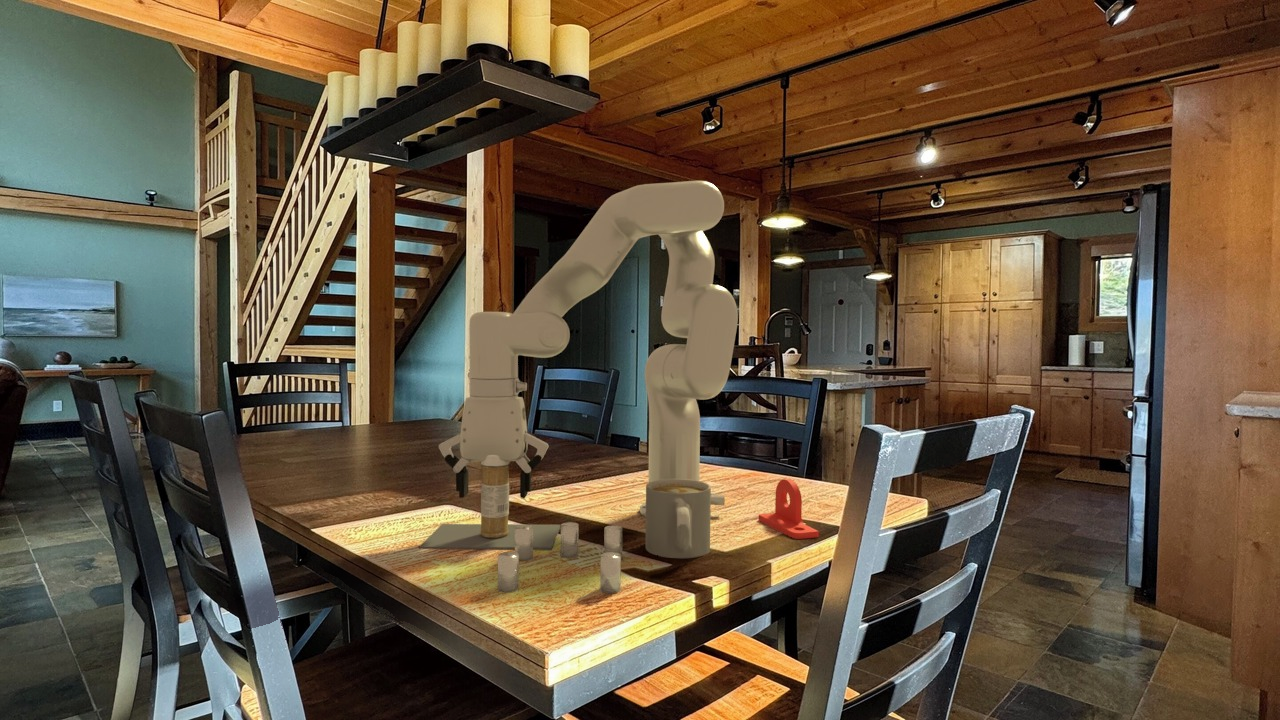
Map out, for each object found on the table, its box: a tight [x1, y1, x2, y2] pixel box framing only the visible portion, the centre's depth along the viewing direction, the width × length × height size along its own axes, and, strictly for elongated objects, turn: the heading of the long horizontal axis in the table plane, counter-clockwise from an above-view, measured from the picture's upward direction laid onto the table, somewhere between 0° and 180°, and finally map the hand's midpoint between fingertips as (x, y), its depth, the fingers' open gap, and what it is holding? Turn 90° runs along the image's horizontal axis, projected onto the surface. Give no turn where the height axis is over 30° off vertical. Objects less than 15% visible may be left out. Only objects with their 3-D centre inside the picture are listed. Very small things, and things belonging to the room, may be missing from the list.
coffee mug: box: [645, 479, 712, 559], centre depth 99 cm, size 13×10×10 cm
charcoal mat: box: [418, 523, 561, 551], centre depth 105 cm, size 20×12×1 cm, turn 91°
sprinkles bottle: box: [480, 455, 511, 538], centre depth 105 cm, size 5×5×13 cm
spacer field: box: [497, 521, 623, 594], centre depth 90 cm, size 16×16×5 cm
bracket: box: [758, 478, 820, 540], centre depth 113 cm, size 12×4×8 cm, turn 19°
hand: (494, 495), depth 105 cm, fingers open, 9 cm apart
